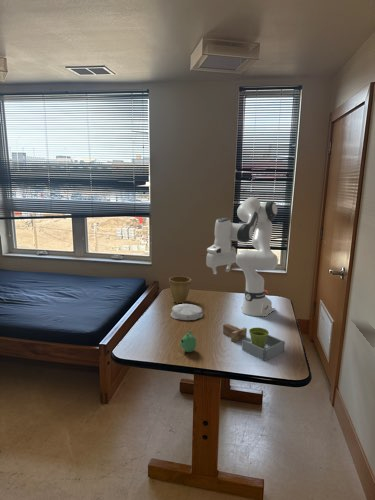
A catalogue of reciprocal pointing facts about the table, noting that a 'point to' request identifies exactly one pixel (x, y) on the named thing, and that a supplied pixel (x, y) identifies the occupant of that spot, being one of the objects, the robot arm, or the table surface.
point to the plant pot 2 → (258, 336)
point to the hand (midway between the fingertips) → (221, 272)
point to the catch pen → (261, 353)
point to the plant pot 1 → (179, 288)
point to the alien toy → (188, 342)
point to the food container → (186, 312)
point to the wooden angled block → (234, 332)
